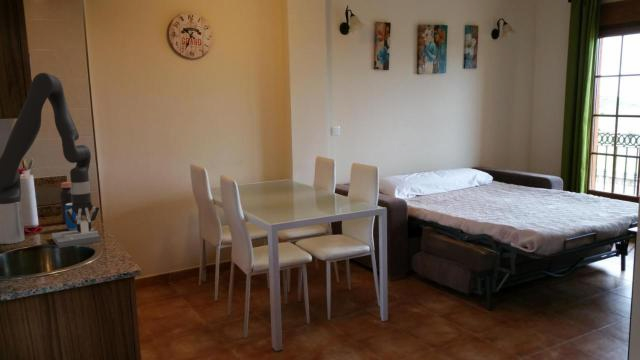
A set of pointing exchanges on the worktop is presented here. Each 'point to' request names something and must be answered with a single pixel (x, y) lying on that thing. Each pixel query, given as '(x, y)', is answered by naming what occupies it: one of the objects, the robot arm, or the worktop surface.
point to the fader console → (75, 238)
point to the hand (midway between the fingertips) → (84, 231)
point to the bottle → (65, 198)
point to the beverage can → (68, 223)
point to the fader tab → (84, 227)
